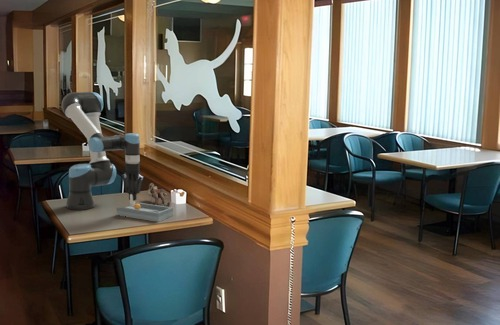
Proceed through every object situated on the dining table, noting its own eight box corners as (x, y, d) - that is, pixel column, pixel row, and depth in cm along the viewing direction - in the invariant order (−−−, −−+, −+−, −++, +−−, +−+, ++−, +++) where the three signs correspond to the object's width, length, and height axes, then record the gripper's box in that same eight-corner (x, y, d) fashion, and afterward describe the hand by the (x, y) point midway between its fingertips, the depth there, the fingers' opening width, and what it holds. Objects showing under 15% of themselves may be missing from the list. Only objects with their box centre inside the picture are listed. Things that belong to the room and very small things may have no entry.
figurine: (158, 197, 319) (145, 176, 345) (152, 213, 321) (139, 192, 347) (176, 201, 325) (162, 181, 350) (170, 217, 327) (156, 196, 352)
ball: (132, 204, 311) (137, 203, 309) (136, 203, 314) (141, 202, 312) (133, 210, 311) (138, 210, 309) (137, 209, 314) (142, 208, 312)
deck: (116, 215, 309) (116, 206, 308) (132, 209, 322) (132, 201, 321) (158, 221, 299) (158, 213, 298) (172, 215, 312) (172, 207, 311)
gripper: (117, 162, 308) (118, 206, 312) (138, 164, 303) (138, 209, 306) (126, 160, 315) (126, 203, 318) (146, 162, 310) (146, 206, 313)
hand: (132, 206), depth 312 cm, fingers closed
